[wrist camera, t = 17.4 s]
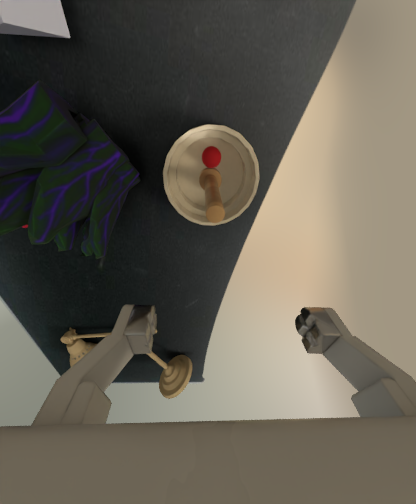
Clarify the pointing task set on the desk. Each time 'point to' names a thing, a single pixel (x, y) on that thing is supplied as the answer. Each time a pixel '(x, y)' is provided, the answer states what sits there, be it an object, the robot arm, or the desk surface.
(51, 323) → the desk surface
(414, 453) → the robot arm
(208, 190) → the wooden pestle
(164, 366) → the desk lamp
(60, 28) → the wedge on round base
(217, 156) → the berry
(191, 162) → the bowl
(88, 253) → the decorative plant
